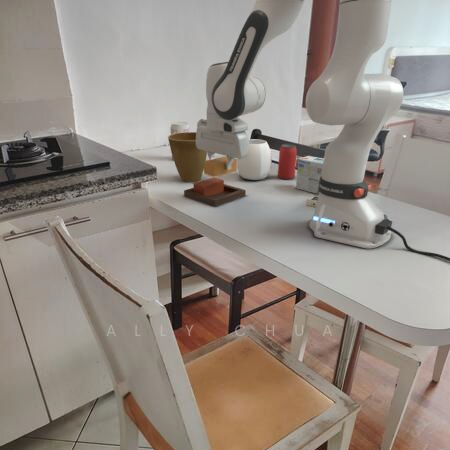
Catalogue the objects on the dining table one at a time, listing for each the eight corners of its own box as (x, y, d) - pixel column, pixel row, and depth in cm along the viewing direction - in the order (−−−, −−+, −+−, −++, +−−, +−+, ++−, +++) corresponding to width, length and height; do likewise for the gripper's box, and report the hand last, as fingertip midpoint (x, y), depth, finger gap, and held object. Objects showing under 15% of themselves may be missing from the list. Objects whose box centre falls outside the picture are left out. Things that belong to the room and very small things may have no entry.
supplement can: (174, 156, 188) (172, 121, 180) (192, 157, 188) (191, 122, 179) (170, 161, 182) (168, 124, 174) (188, 161, 181) (187, 125, 173)
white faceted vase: (262, 171, 168) (264, 137, 160) (276, 180, 157) (278, 144, 150) (232, 174, 164) (232, 139, 157) (243, 184, 154) (245, 146, 146)
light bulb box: (330, 190, 147) (334, 160, 141) (320, 195, 143) (324, 163, 137) (305, 184, 153) (308, 154, 148) (294, 188, 149) (297, 158, 143)
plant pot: (190, 172, 167) (188, 130, 158) (217, 179, 159) (217, 135, 150) (162, 180, 157) (159, 135, 149) (190, 188, 149) (188, 141, 141)
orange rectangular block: (236, 171, 137) (236, 158, 135) (214, 177, 131) (213, 164, 129) (226, 168, 140) (226, 156, 138) (204, 173, 134) (203, 161, 132)
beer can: (293, 180, 158) (297, 147, 151) (276, 179, 159) (279, 147, 152) (294, 175, 163) (297, 144, 157) (278, 174, 164) (280, 143, 158)
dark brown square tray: (245, 195, 142) (245, 189, 141) (215, 206, 133) (215, 200, 132) (214, 186, 151) (214, 181, 150) (184, 196, 141) (183, 190, 140)
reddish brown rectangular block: (223, 191, 145) (224, 180, 142) (203, 198, 138) (203, 186, 136) (213, 188, 147) (213, 177, 145) (193, 194, 141) (193, 183, 139)
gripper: (190, 119, 131) (192, 163, 139) (238, 128, 120) (237, 175, 127) (204, 117, 135) (205, 160, 143) (252, 125, 123) (250, 171, 131)
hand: (220, 167), depth 135 cm, fingers closed on orange rectangular block, 5 cm apart
